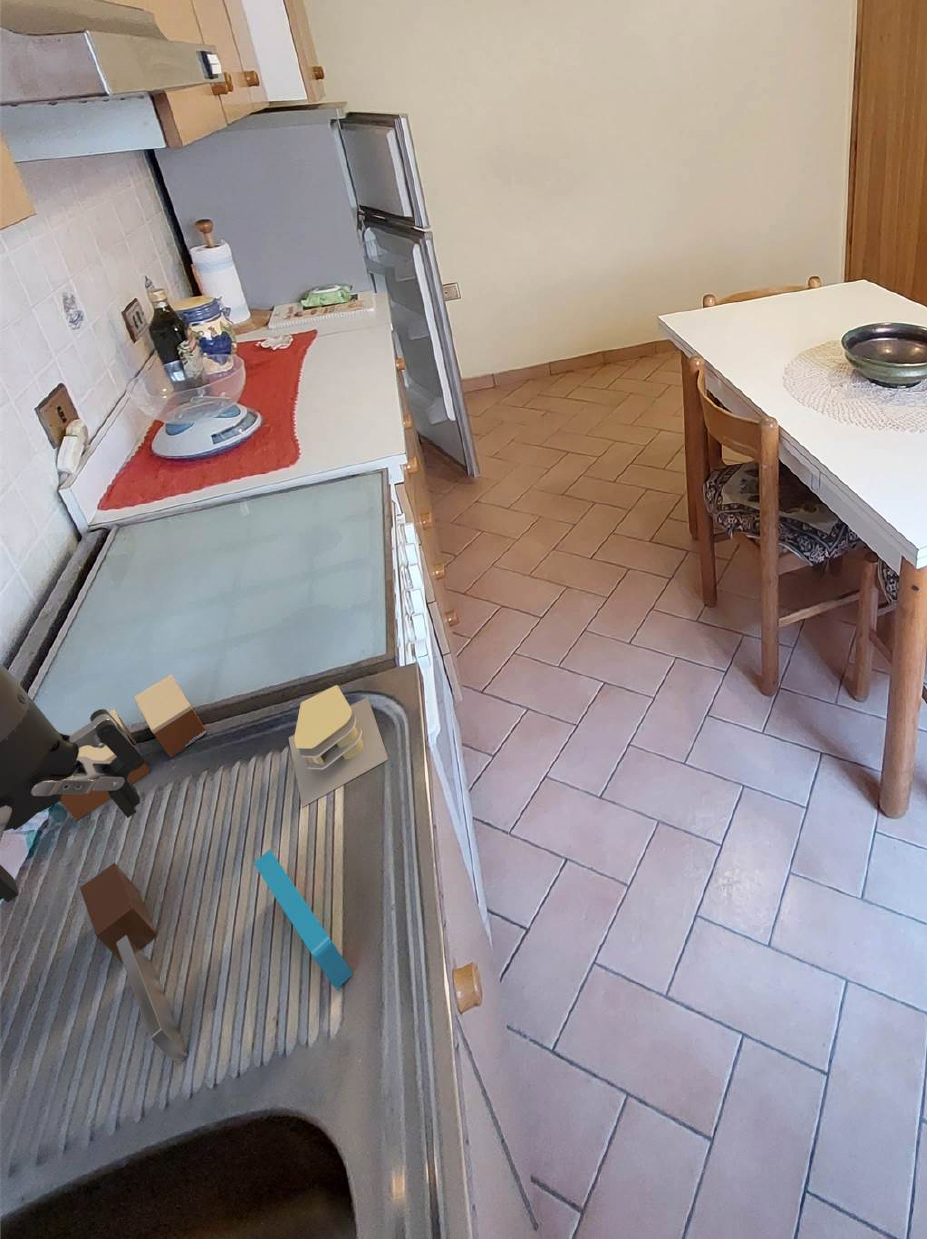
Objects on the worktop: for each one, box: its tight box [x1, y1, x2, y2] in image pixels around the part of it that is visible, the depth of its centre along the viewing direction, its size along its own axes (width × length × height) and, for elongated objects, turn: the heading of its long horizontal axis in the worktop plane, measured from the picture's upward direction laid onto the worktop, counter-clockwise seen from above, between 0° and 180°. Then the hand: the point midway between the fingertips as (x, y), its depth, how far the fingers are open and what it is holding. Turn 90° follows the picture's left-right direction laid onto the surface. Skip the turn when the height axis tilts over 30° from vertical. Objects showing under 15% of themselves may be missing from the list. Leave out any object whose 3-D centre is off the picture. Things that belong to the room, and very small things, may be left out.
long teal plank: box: [253, 849, 353, 991], centre depth 64 cm, size 12×2×6 cm, turn 50°
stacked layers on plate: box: [288, 684, 389, 808], centre depth 80 cm, size 10×9×6 cm
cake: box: [59, 709, 152, 821], centre depth 80 cm, size 7×7×5 cm
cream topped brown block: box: [133, 674, 207, 759], centre depth 84 cm, size 4×7×5 cm, turn 48°
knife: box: [79, 862, 189, 1066], centre depth 62 cm, size 3×18×5 cm, turn 48°
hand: (73, 848), depth 62 cm, fingers open, 8 cm apart
